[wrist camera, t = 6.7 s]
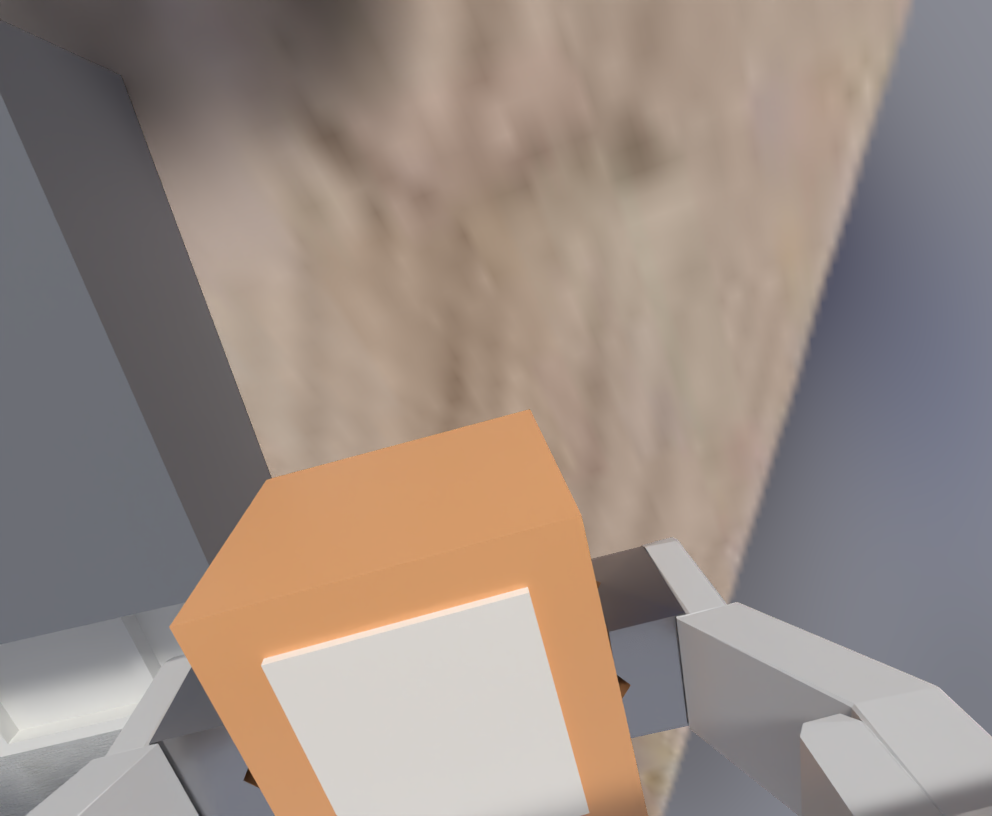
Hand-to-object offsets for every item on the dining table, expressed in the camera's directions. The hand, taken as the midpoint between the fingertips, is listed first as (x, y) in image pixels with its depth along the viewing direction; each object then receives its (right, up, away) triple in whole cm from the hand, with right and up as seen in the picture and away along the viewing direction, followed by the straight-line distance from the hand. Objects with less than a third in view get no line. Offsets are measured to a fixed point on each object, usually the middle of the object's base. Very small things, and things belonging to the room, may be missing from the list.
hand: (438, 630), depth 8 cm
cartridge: (0, +1, +2) cm, 2 cm away
